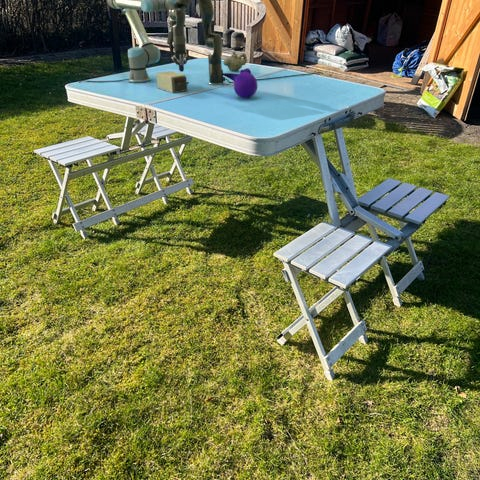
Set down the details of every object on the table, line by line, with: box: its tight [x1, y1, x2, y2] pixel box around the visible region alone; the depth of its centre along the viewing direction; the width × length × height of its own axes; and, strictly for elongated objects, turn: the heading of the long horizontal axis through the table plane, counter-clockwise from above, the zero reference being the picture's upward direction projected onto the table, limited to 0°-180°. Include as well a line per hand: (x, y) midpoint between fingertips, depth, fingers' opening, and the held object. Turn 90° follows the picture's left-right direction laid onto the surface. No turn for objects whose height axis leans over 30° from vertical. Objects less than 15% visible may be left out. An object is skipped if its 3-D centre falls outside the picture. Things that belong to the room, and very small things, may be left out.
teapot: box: [222, 51, 248, 73], centre depth 364 cm, size 21×12×15 cm, turn 120°
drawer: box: [172, 76, 190, 93], centre depth 307 cm, size 24×10×8 cm, turn 38°
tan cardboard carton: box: [156, 70, 186, 93], centre depth 310 cm, size 20×11×10 cm, turn 38°
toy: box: [222, 67, 258, 99], centre depth 286 cm, size 16×18×27 cm
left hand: (177, 53), depth 324 cm, fingers open, 13 cm apart
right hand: (181, 71), depth 296 cm, fingers closed
